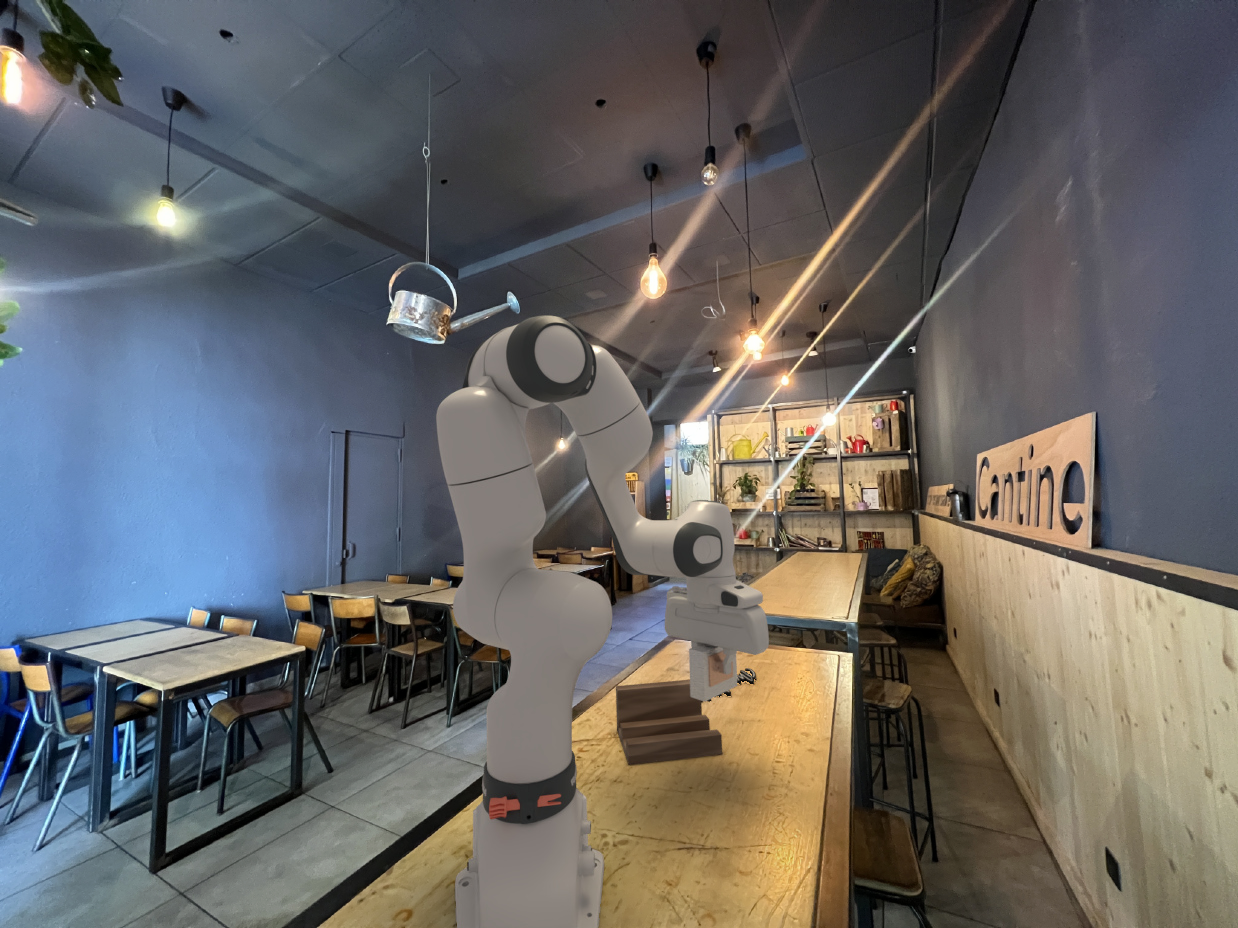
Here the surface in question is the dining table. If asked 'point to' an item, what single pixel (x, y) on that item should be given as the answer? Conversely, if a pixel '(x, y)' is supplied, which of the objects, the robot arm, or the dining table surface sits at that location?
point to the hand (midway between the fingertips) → (714, 669)
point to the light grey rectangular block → (709, 672)
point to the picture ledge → (663, 723)
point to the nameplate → (741, 677)
